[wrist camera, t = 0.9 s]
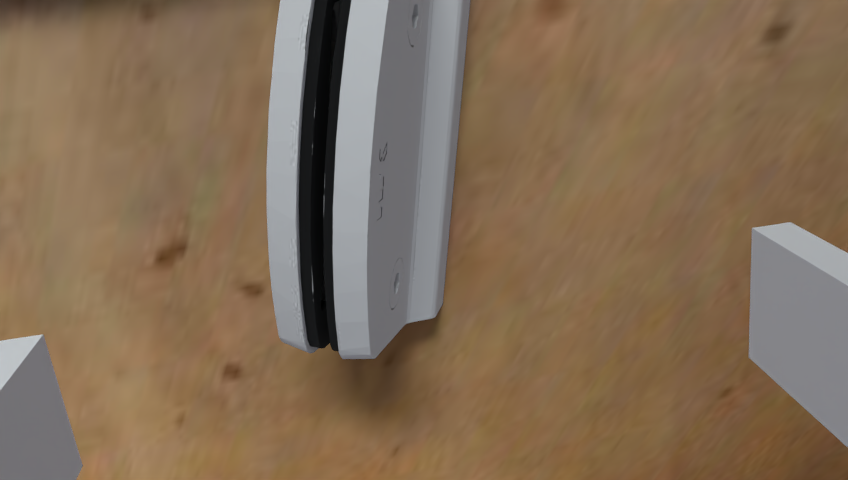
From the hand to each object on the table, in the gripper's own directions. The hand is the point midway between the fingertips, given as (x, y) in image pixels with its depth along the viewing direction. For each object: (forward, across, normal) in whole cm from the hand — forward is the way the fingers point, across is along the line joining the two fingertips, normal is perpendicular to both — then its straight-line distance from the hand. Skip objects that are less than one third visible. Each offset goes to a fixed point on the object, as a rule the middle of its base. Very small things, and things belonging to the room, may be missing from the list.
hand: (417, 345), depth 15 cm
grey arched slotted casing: (+21, 0, 0) cm, 21 cm away
